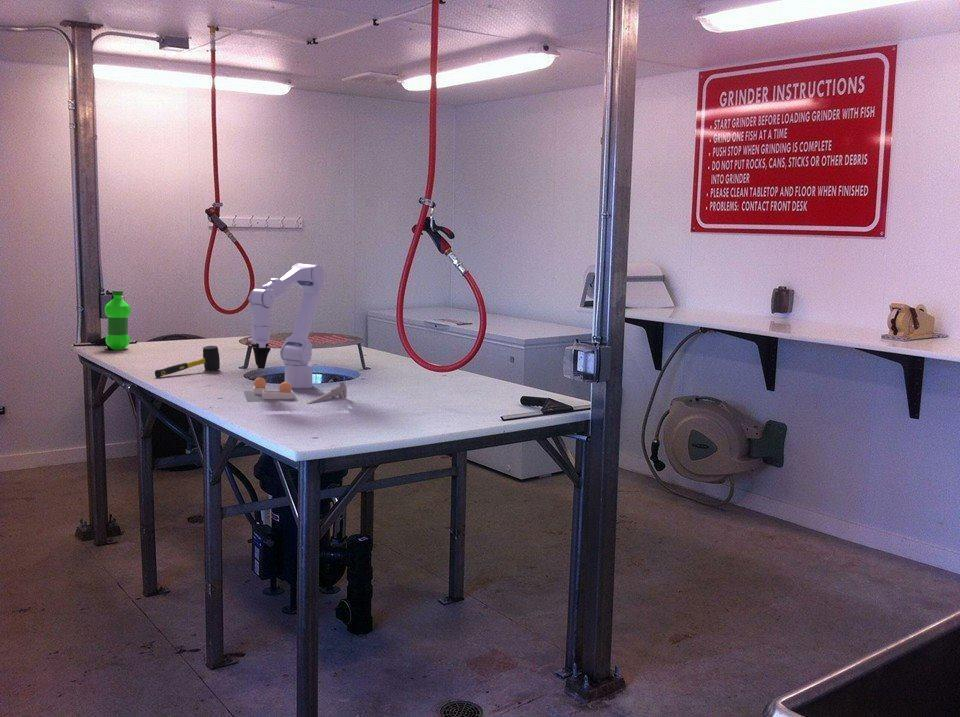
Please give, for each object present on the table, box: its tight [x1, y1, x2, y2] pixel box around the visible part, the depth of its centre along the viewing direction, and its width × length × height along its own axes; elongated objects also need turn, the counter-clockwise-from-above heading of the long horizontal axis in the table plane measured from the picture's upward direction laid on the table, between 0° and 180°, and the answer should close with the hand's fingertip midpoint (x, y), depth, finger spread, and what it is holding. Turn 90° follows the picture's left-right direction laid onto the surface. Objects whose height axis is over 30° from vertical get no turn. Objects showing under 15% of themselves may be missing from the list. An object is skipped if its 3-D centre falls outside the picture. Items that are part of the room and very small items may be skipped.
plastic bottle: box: [104, 290, 132, 351], centre depth 379 cm, size 10×10×25 cm
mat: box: [243, 390, 299, 403], centre depth 289 cm, size 16×18×1 cm
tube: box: [252, 385, 268, 394], centre depth 292 cm, size 4×4×2 cm
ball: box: [253, 377, 267, 388], centre depth 292 cm, size 4×4×4 cm
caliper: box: [306, 381, 348, 405], centre depth 287 cm, size 20×1×6 cm, turn 151°
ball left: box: [278, 381, 293, 393], centre depth 287 cm, size 4×4×4 cm
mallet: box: [154, 345, 221, 379], centre depth 328 cm, size 29×6×10 cm, turn 150°
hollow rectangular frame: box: [262, 389, 295, 399], centre depth 286 cm, size 10×4×2 cm, turn 108°
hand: (260, 366), depth 291 cm, fingers open, 7 cm apart
